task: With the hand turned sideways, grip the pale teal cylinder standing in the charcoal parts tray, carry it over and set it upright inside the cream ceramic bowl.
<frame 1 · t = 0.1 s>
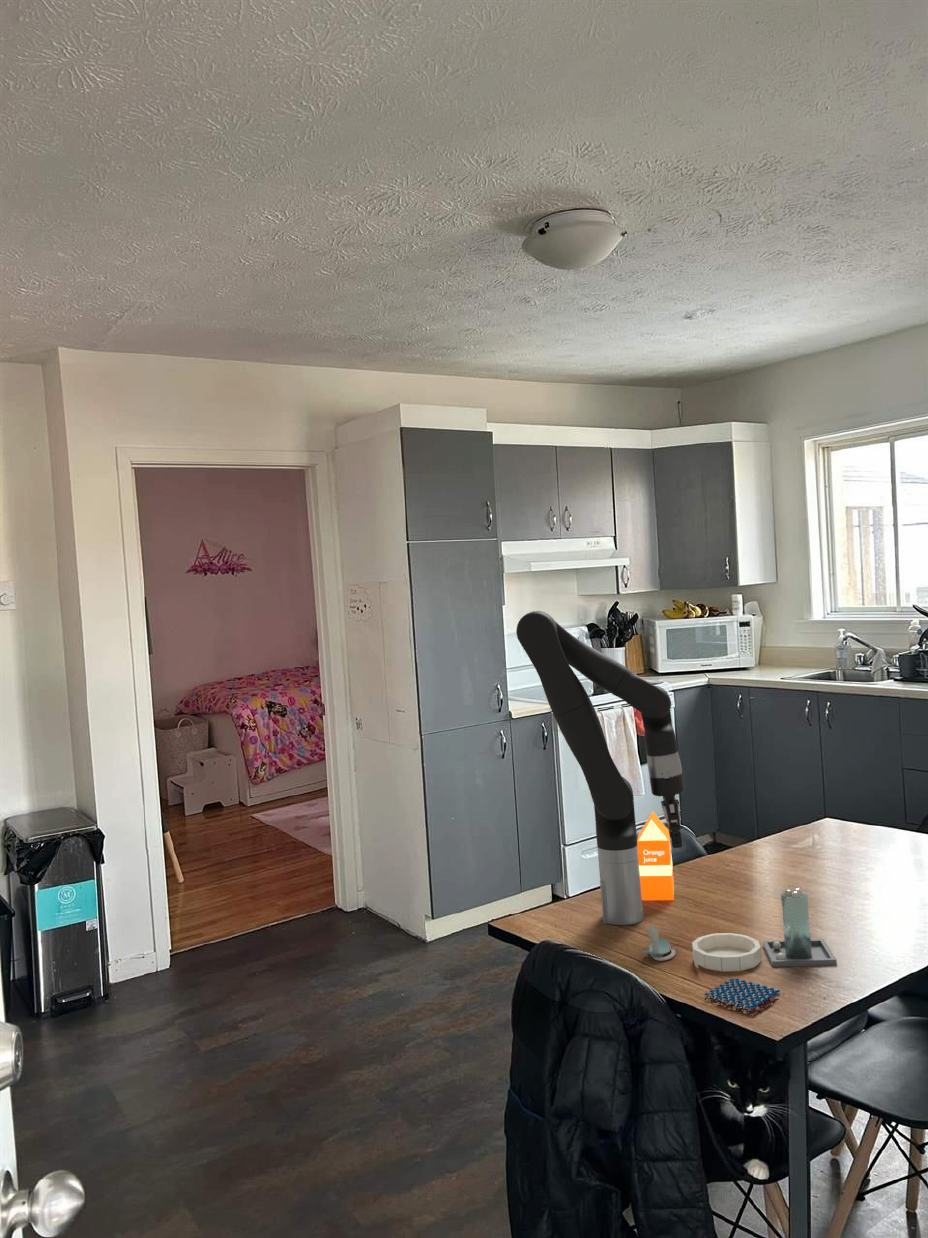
hand: (676, 842, 221), 17 cm above the table, tool pointing down, fingers open, 8 cm apart
woven mat: (744, 1003, 175), on the table
pacifier: (660, 957, 199), on the table
orange juice: (658, 895, 238), on the table
teal cylinder: (798, 955, 191), point 1 cm above the table, touching parts tray
bowl: (727, 962, 193), on the table
parts tray: (799, 959, 191), on the table
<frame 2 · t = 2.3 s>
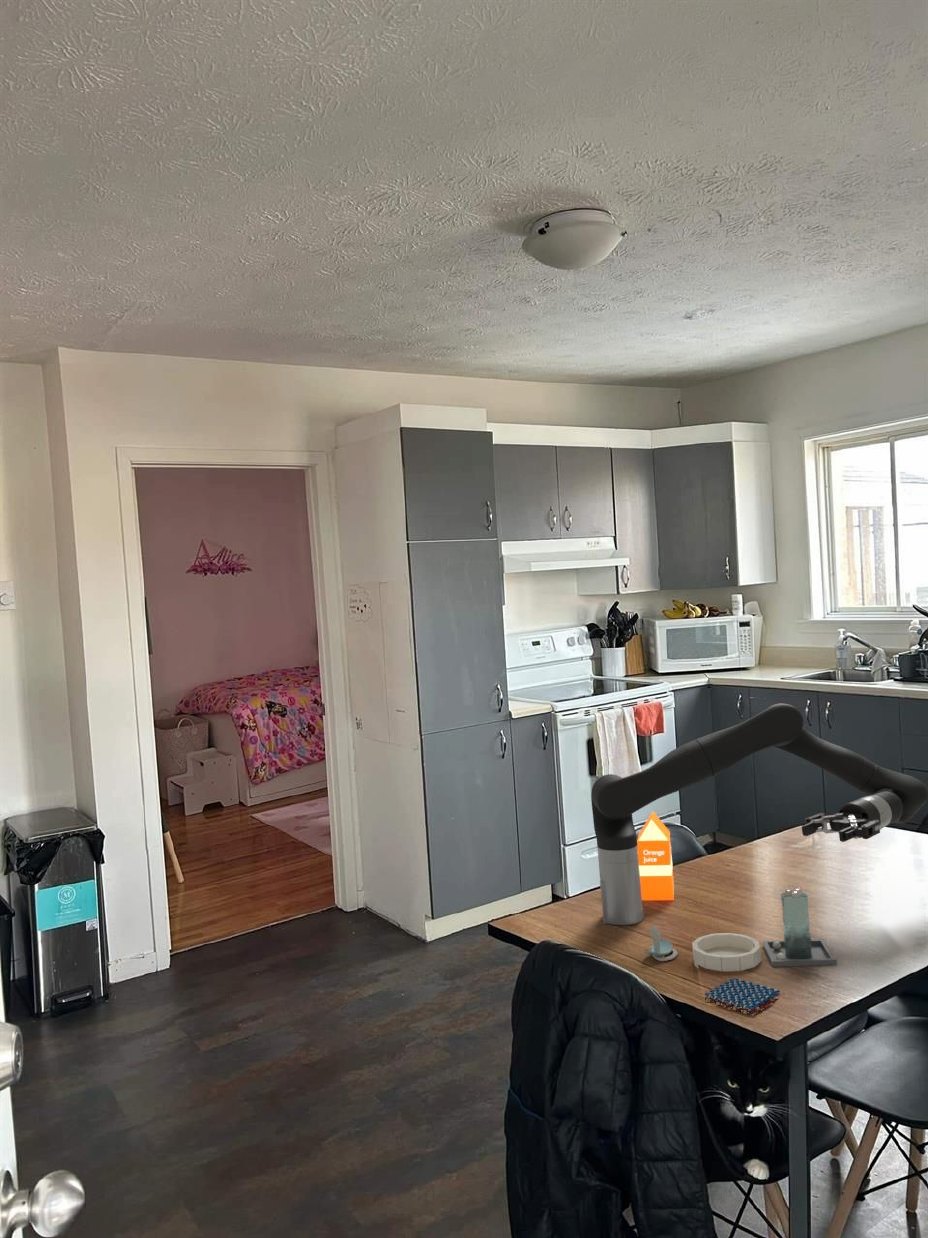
hand: (822, 834, 197), 23 cm above the table, tool horizontal, fingers open, 8 cm apart
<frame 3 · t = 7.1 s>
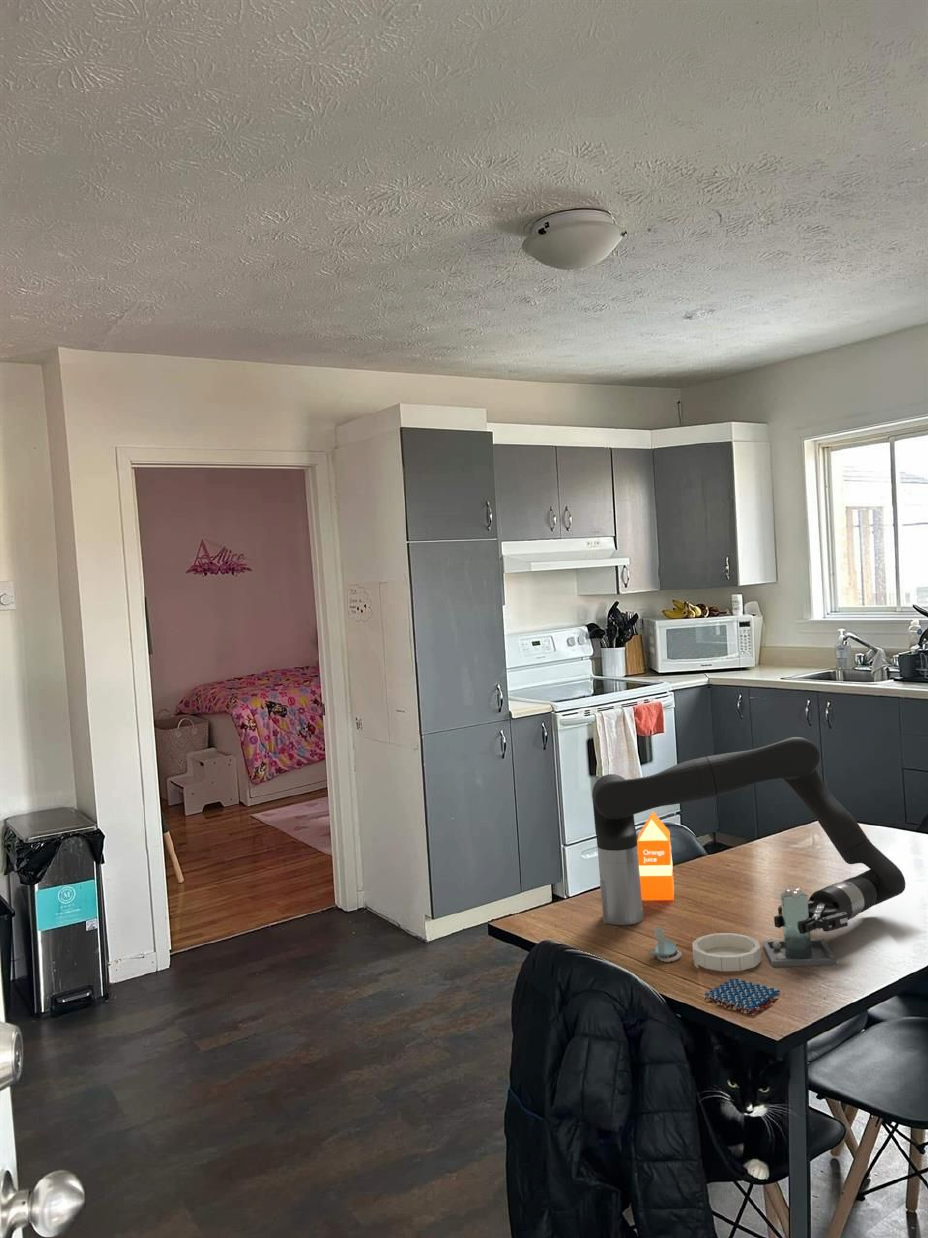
hand: (788, 925, 189), 7 cm above the table, tool horizontal, fingers closed on teal cylinder, 5 cm apart
teal cylinder: (798, 955, 191), point 1 cm above the table, touching gripper, parts tray
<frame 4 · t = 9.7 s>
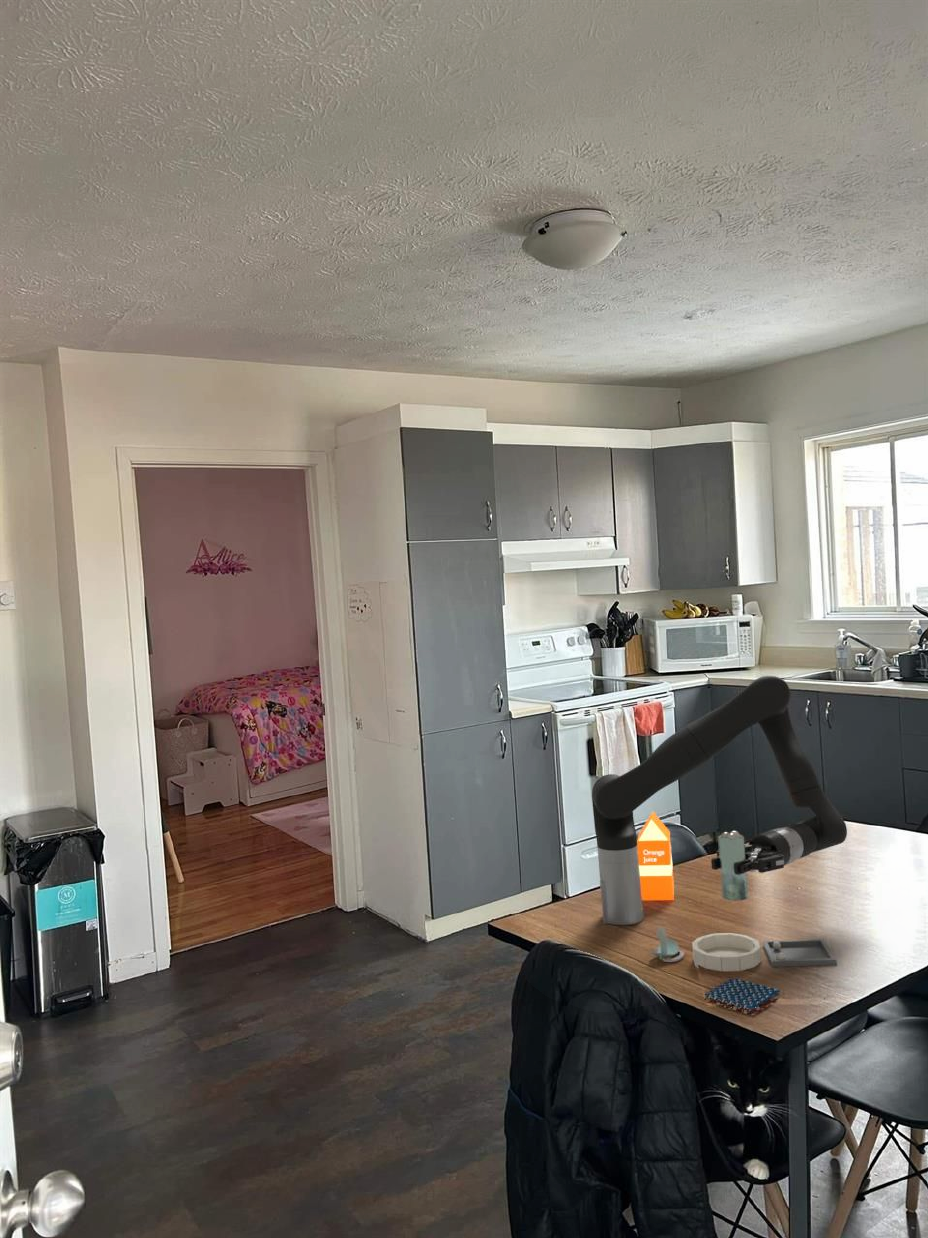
hand: (724, 867, 190), 20 cm above the table, tool horizontal, fingers closed on teal cylinder, 5 cm apart
teal cylinder: (735, 896, 192), point 13 cm above the table, touching gripper
when the fingers open (9 cm above the table, at t = 12.5 s): teal cylinder drops 1 cm, resting on bowl.
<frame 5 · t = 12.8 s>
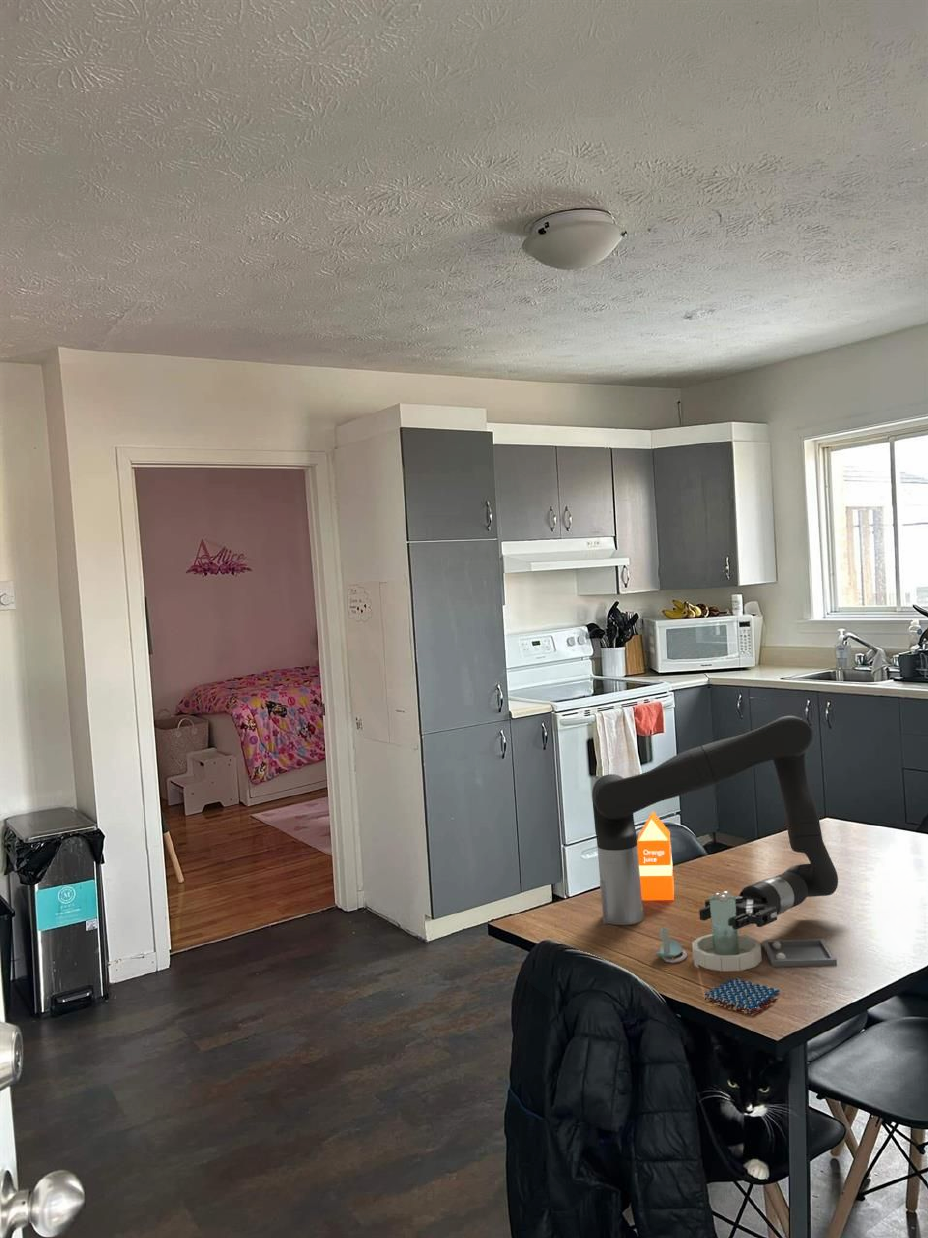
hand: (717, 920, 191), 9 cm above the table, tool horizontal, fingers open, 7 cm apart
teal cylinder: (726, 956, 193), point 1 cm above the table, touching bowl
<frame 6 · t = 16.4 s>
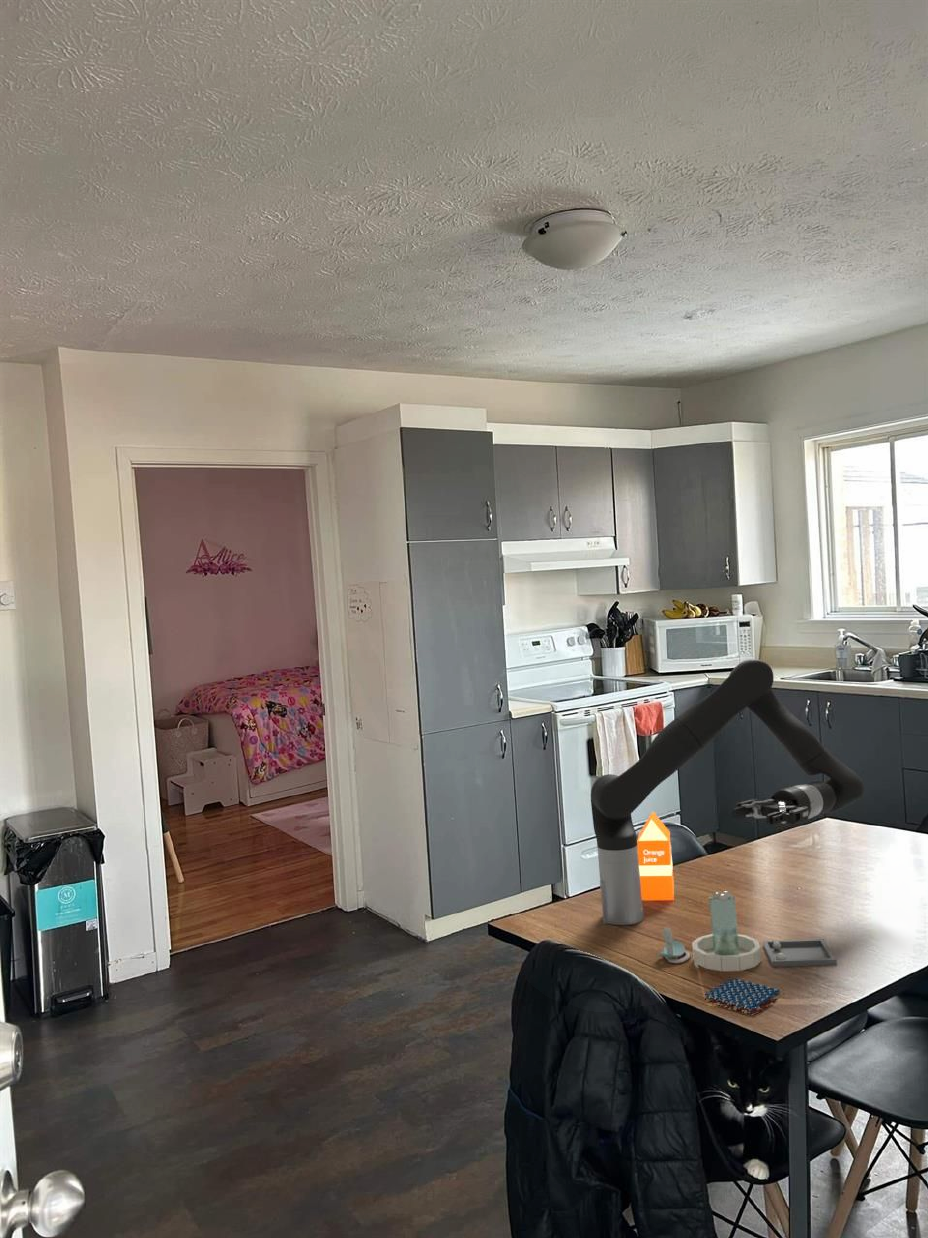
hand: (750, 817, 199), 27 cm above the table, tool horizontal, fingers open, 8 cm apart
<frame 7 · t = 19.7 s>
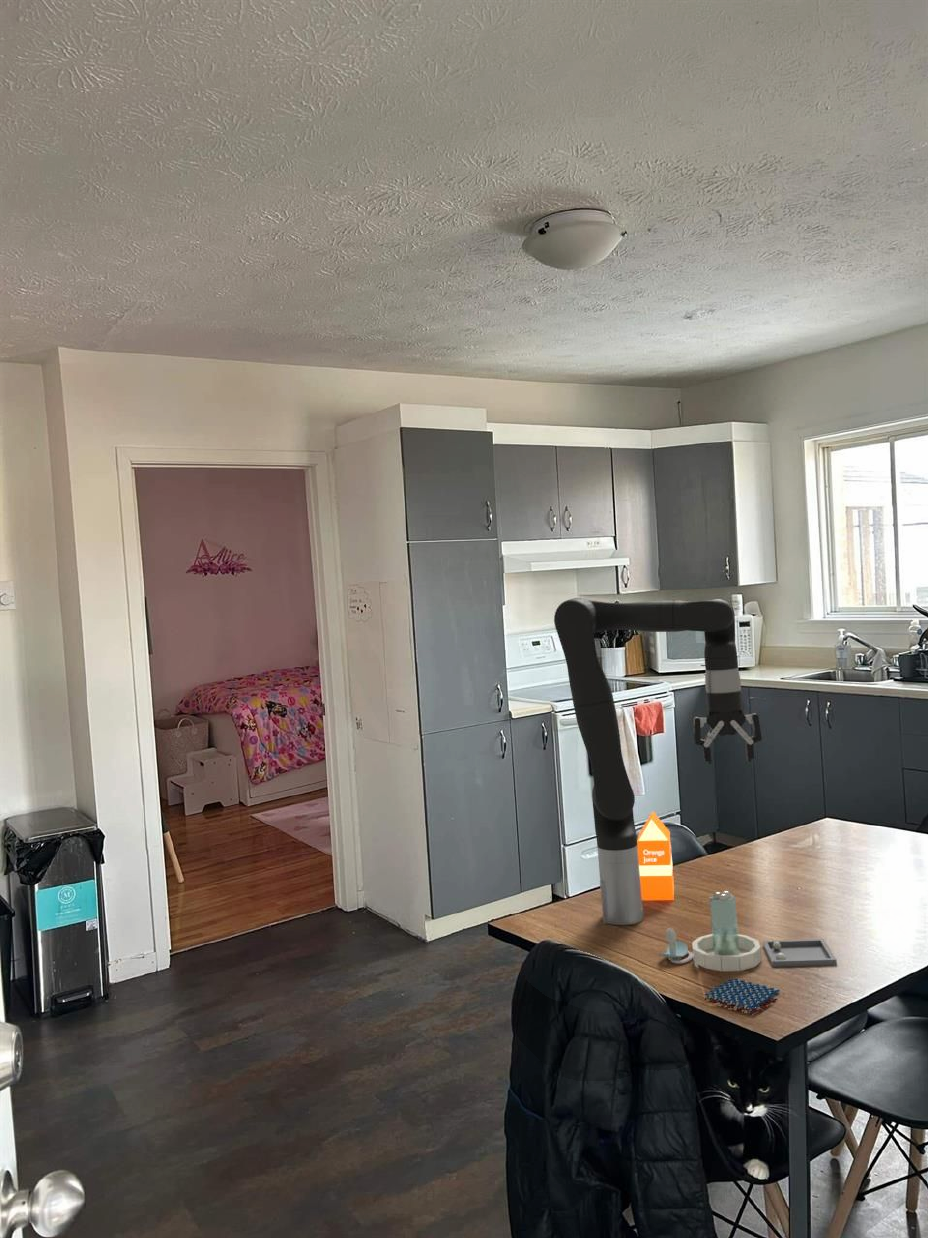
hand: (729, 762, 212), 36 cm above the table, tool pointing down, fingers open, 8 cm apart
at the end: teal cylinder 0.1 cm off-centre on the bowl, point 1.0 cm above the bowl's base; teal cylinder tilted 0° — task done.
